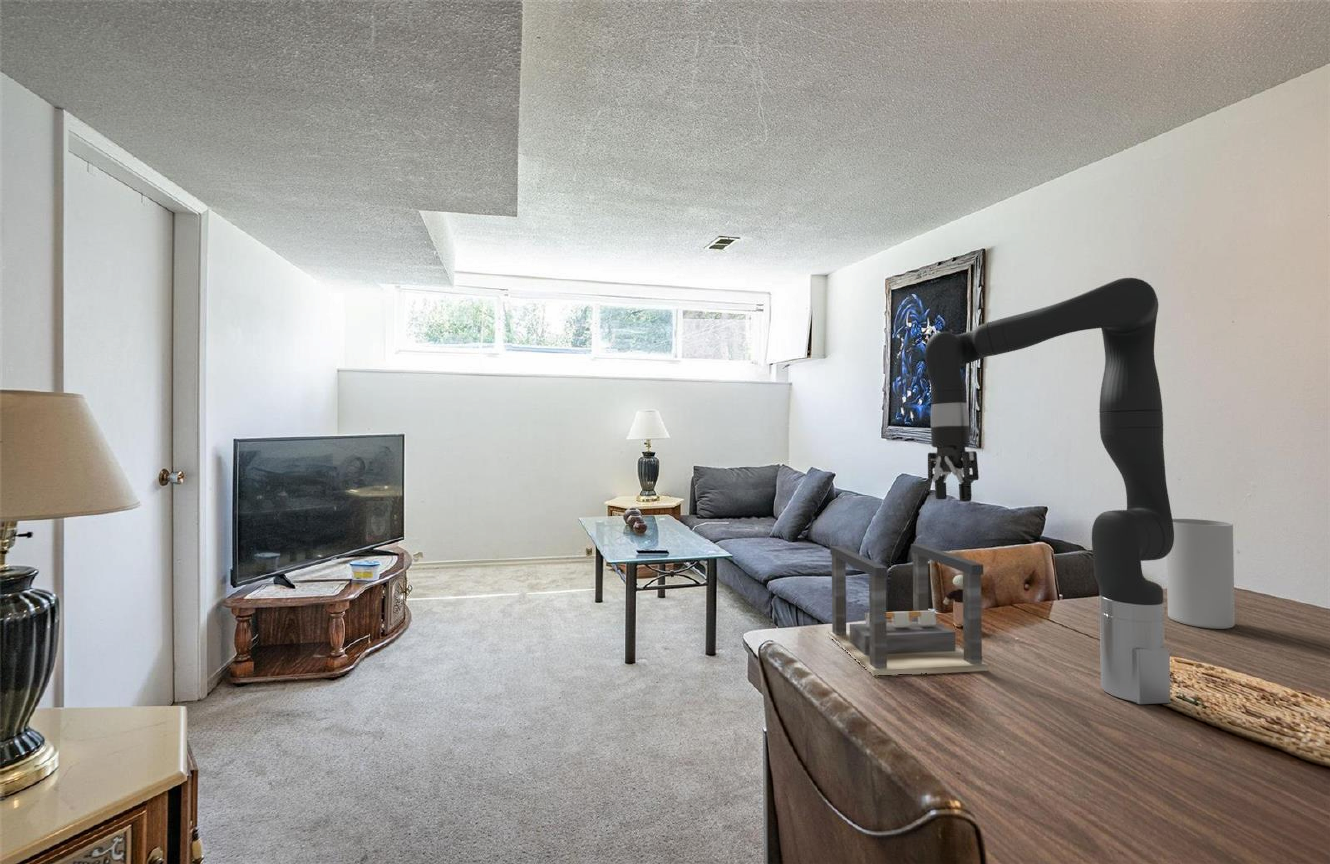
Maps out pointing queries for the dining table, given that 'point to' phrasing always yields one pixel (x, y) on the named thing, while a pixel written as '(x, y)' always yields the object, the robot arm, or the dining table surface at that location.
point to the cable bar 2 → (948, 559)
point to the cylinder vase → (1201, 574)
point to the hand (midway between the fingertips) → (952, 500)
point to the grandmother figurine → (956, 600)
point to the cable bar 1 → (859, 562)
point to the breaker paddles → (903, 617)
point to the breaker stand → (908, 629)
